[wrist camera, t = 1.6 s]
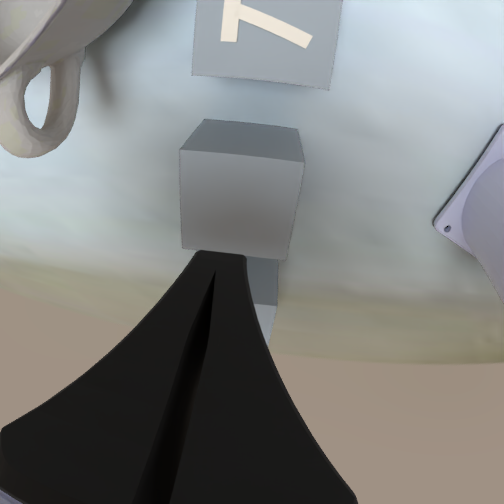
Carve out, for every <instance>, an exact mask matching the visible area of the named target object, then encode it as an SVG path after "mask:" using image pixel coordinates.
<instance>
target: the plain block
mask: <svg viewBox="0 0 504 504" xmlns="http://www.w3.org/2000/svg"><path fill="white" fill-rule="evenodd" d="M304 167H305V160H304V155H303V151H302V146H301V142H300V137H299V133H298V129H294V128H287V127H280V126H272V125H264V124H255V123H245V122H235V121H223V120H209V119H204V120H203V121H202V123H201V124H200V125H199V126H198V127H197V129H196V130H195V131H194V132H193V134H192V135H191V136H190V137H189V138H188V140H187V141H186V142H185V144H184V145H183V146H182V147H181V149H180V210H181V236H182V248H184V249H192V250H208V251H216V252H225V253H233V254H242V255H244V256H252V257H260V258H269V259H277V260H286V257H287V252H288V248H289V243H290V238H291V233H292V228H293V223H294V218H295V213H296V208H297V203H298V198H299V193H300V188H301V182H302V177H303V172H304Z"/></svg>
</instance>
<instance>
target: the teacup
mask: <svg viewBox="0 0 504 504" xmlns="http://www.w3.org/2000/svg"><path fill="white" fill-rule="evenodd" d="M132 2H133V0H0V144H1V145H2V147H3V148H4V149H5V150H6V151H8V152H9V153H11V154H12V155H15V156H17V157H21V158H34V157H39V156H42V155H44V154H46V153H48V152H50V151H52V150H54V149H56V148H57V147H58V146H59V145H60V144H61V143H62V142H63V141H64V140H65V139H66V138H67V136H68V134H69V133H70V131H71V129H72V127H73V124H74V121H75V117H76V113H77V108H78V103H79V90H80V68H81V66H82V64H83V62H84V59H85V47H86V46H87V45H88V44H90V43H91V42H93V41H94V40H95V39H97V38H98V37H99V36H100V35H102V34H103V33H104V32H105V31H106V30H107V29H108V28H110V27H111V26H112V25H113V24H114V23H115V22H116V21H117V20H118V19H119V18H120V17H121V16H122V14H123V13H124V12H125V11H126V10H127V9H128V7H129V6H130V5H131V3H132ZM46 66H49V67H50V68H51V82H50V99H49V106H48V112H47V116H46V119H45V123H44V125H43V127H42V128H41V129H39V128H37V127H34V125H33V124H32V123H31V122H30V120H29V118H28V116H27V113H26V110H25V102H24V94H25V90H26V87H27V85H28V84H29V82H30V80H31V79H33V78H34V77H35V76H36V75H38V74H39V73H40V71H41V69H42V68H43V67H46Z"/></svg>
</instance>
